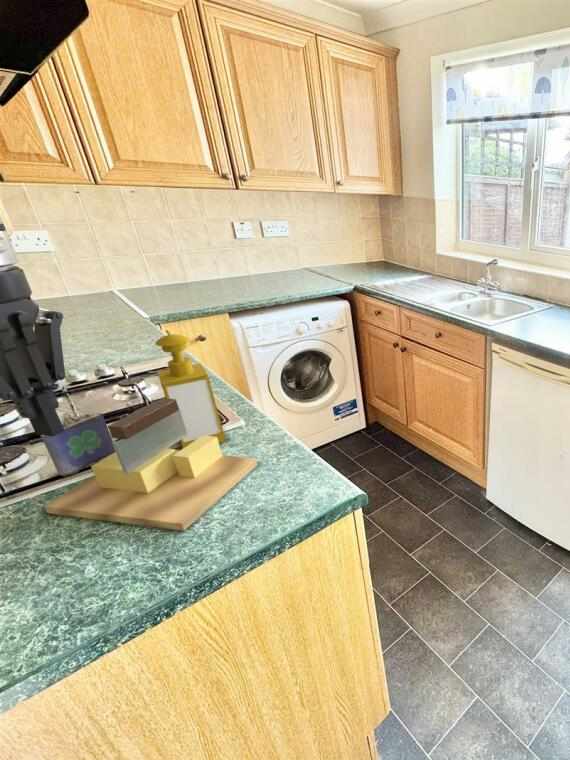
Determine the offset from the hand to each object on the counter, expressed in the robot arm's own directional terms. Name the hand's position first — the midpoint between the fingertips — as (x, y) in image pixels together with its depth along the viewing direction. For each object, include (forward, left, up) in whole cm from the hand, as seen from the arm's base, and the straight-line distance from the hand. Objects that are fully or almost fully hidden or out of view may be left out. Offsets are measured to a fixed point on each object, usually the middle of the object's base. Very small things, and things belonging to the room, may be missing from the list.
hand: (50, 432), depth 61 cm
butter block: (0, +9, -15) cm, 18 cm away
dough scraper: (+5, +9, -9) cm, 14 cm away
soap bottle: (-3, +26, -17) cm, 31 cm away
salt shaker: (-53, +38, -17) cm, 68 cm away
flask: (-15, +13, -17) cm, 26 cm away
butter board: (+4, +9, -17) cm, 19 cm away
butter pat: (+7, +14, -15) cm, 22 cm away
